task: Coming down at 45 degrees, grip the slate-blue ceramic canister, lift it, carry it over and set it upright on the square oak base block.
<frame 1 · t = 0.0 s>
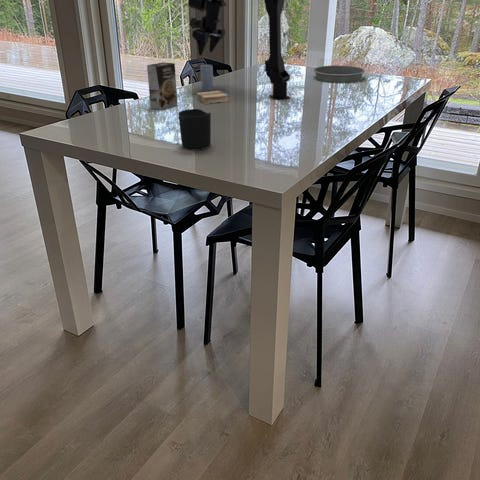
hand: (205, 53, 207), 15 cm above the table, tool pointing down, fingers open, 9 cm apart
cake pan: (338, 79, 236), on the table
pen holder: (196, 146, 147), on the table
coffee box: (164, 107, 190), on the table
oak base block: (212, 100, 199), on the table
canister: (207, 91, 213), on the table
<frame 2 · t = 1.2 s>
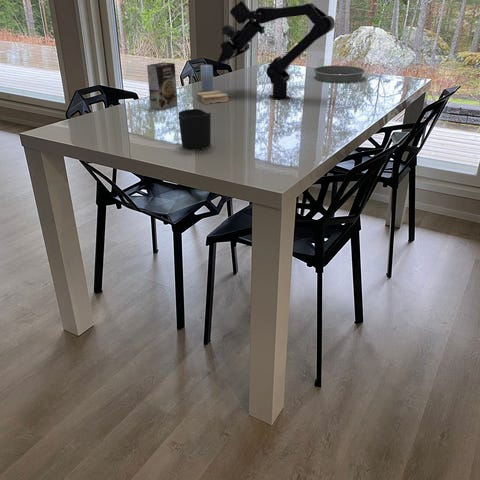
hand: (222, 60, 204), 13 cm above the table, tool tilted 45°, fingers open, 9 cm apart
nothing on the table moved.
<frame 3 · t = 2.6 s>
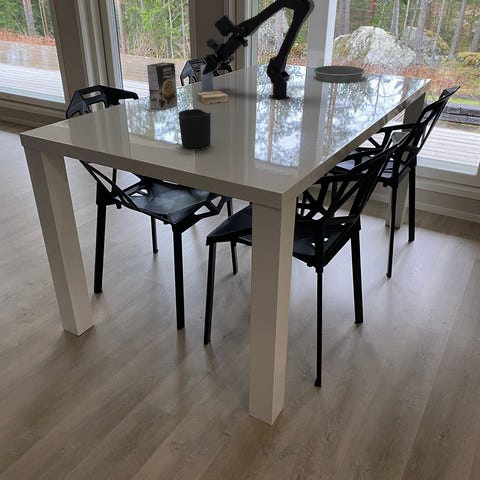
hand: (207, 72, 209), 8 cm above the table, tool tilted 45°, fingers open, 9 cm apart
nothing on the table moved.
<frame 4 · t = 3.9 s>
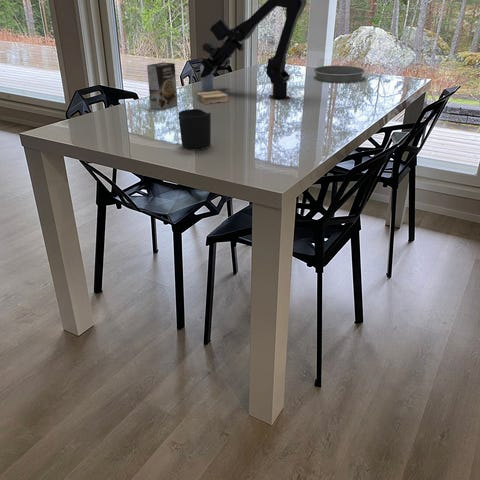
hand: (204, 76, 210), 7 cm above the table, tool tilted 45°, fingers closed on canister, 5 cm apart
canister: (207, 91, 213), on the table, touching gripper
everything else where it was.
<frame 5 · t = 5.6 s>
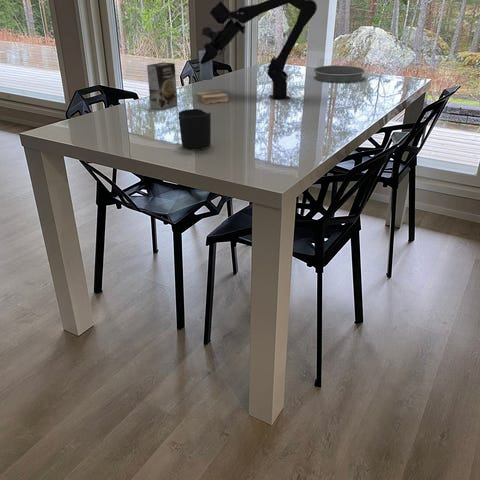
hand: (202, 62, 200), 13 cm above the table, tool tilted 45°, fingers closed on canister, 5 cm apart
canister: (206, 78, 203), point 7 cm above the table, touching gripper
everything else where it was.
when the fingers open (10 cm above the table, at t = 7.5 s): canister drops 1 cm, resting on oak base block.
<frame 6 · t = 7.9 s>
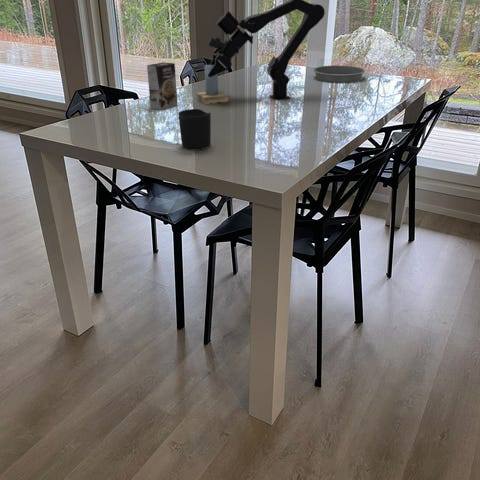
hand: (207, 74, 193), 10 cm above the table, tool tilted 45°, fingers open, 9 cm apart
canister: (212, 94, 197), point 3 cm above the table, touching oak base block
everything else where it was.
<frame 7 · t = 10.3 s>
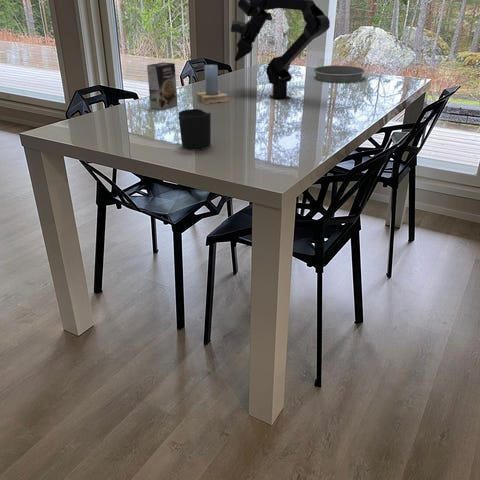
hand: (236, 56, 205), 15 cm above the table, tool tilted 35°, fingers open, 9 cm apart
nothing on the table moved.
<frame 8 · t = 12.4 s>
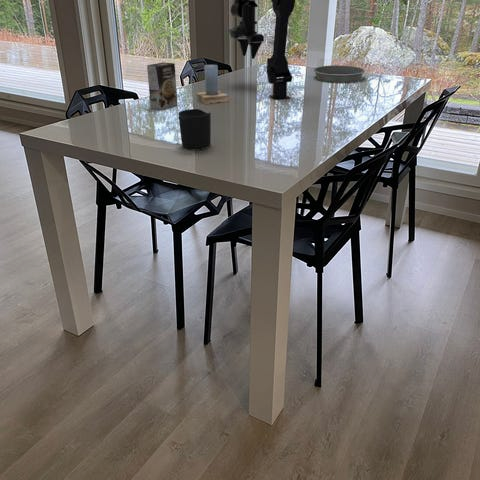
hand: (248, 57, 214), 13 cm above the table, tool pointing down, fingers open, 9 cm apart
nothing on the table moved.
at the end: canister inside the target area on the oak base block (0.0 cm from its centre), point 2.6 cm above the oak base block's base; canister tilted 1°; the gripper is holding nothing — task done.
